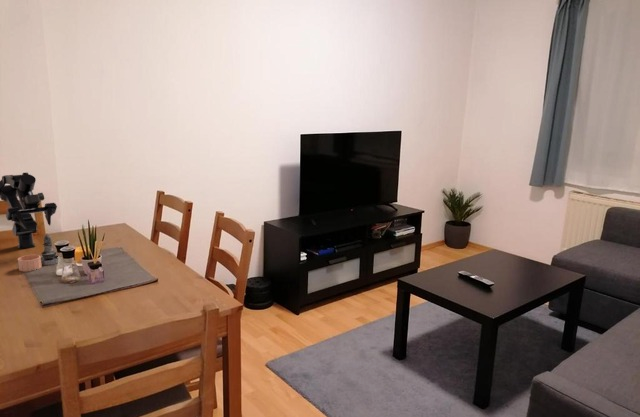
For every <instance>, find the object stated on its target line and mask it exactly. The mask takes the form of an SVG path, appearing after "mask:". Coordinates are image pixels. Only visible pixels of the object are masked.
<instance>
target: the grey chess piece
mask: <svg viewBox="0 0 640 417" xmlns="http://www.w3.org/2000/svg"><path fill="white" fill-rule="evenodd" d="M53 244H54V243H53V242H52V236H51V235H49V234H48V233H45V235H44V236H43V244H42V246H43V247H44V250H43V251H42V252H41V253H40V255H41V257H43V258H45V259H44V260H43V261H49V260H55V259H56V258H54V257H55V256H56V255H57V252H58V251H57V250H54V248H53Z"/></svg>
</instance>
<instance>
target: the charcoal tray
mask: <svg viewBox="0 0 640 417" xmlns="http://www.w3.org/2000/svg"><path fill="white" fill-rule="evenodd" d="M57 257H58V254H56V256H55V257H54V258H56V259H55V260H49V261H43V260H44V259H45V258H43V256H41V264H42V266H49V265H50V266H51V265H52V266H53V265H55V264H58V263H57V261H58V258H57Z"/></svg>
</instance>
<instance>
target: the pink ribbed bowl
mask: <svg viewBox="0 0 640 417" xmlns="http://www.w3.org/2000/svg"><path fill="white" fill-rule="evenodd" d="M41 257H42V255H41V254H26V255H22V256H20V257H18V258H17V262H18V263H17V265H18V271H20V272H32V271H31V270H34V271H37V270H40V269H41V268H42V267H43V265H42V264H41ZM36 269H37V270H36Z"/></svg>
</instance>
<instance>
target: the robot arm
mask: <svg viewBox="0 0 640 417" xmlns="http://www.w3.org/2000/svg"><path fill="white" fill-rule="evenodd" d="M36 181H37V180H36V177H35V176H33V174H29V172H27V171H26V172H22V174H15V175H14V174H9V175H8V174H7V175H2V176H1V179H0V200H2V201H4V202H6V204H7V206H8V208H7V210H6V214H5V217H6V220H7V221H11V222H13V225H12V229H11V230H12V235H14V236H15V237H17V239H18V244H17V248H18V249H19V250H21V249H28V248H34V247H36V245H35V242H34V237H33V234H37V231H38V230H37V229H38V228H37V227H38V223H37V222H36V220H35V219H34V218H33V215H32V214H37V213H44V218H45V219H46V222H47V225H48V226H51V224H52V222H51V220H52V216H53V215H54V214H56V212H57V208H58V205H57V204H56V202H48V203H44V206H41V207H40V202H41V201H44V200H45V196H44V193H43V192H37V193H35V194H34V192H33V191H34V188H35V184H36Z"/></svg>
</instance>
